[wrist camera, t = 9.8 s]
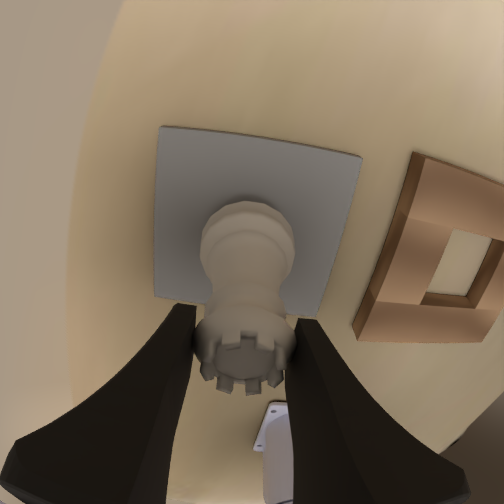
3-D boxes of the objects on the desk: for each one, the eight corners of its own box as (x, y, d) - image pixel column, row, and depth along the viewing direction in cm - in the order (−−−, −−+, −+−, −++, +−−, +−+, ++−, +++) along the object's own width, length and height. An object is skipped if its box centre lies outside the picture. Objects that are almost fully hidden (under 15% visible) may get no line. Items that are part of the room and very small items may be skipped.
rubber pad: (314, 310, 20) (315, 316, 20) (156, 290, 19) (154, 296, 19) (359, 155, 15) (363, 158, 15) (162, 125, 15) (159, 127, 14)
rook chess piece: (207, 279, 17) (182, 410, 10) (196, 200, 15) (148, 313, 8) (293, 276, 17) (314, 407, 10) (293, 195, 15) (329, 308, 8)
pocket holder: (473, 330, 22) (481, 342, 20) (352, 325, 21) (357, 341, 20) (535, 199, 16) (548, 207, 15) (412, 151, 15) (425, 158, 14)
